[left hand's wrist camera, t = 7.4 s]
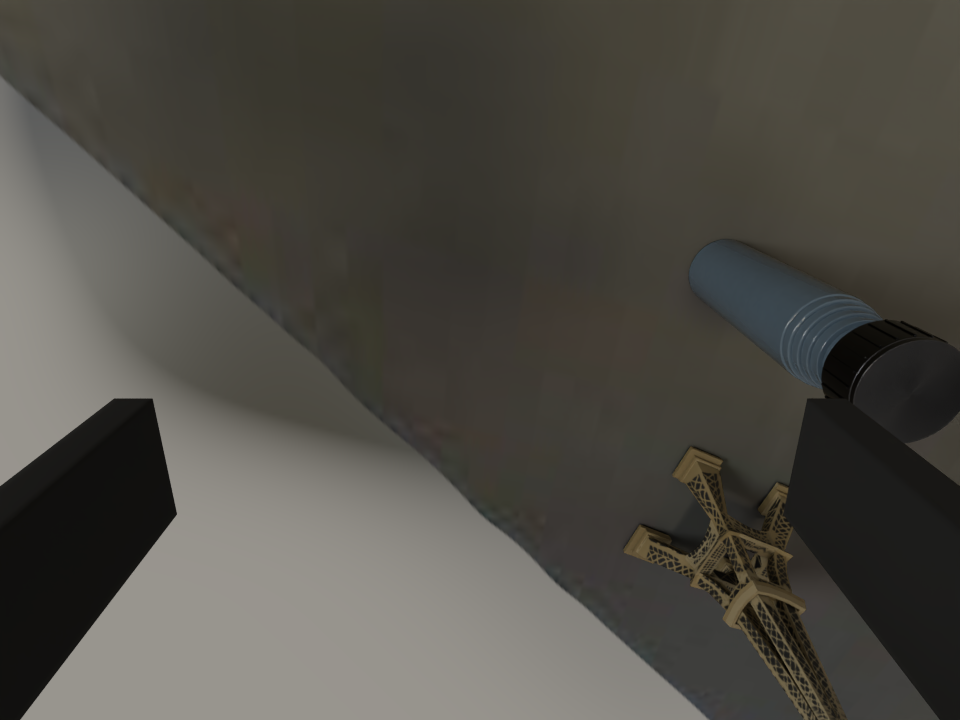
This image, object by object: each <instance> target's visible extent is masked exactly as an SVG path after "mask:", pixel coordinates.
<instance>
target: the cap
mask: <svg viewBox="0 0 960 720" xmlns="http://www.w3.org/2000/svg"><path fill="white" fill-rule="evenodd" d="M821 382H822V383H821V385H822V388H823V392H824V394H825V398H826V399H847V400H848V401H849V402H851V403H852V404H853V405H855V406H856V407H857V408H859V409H860V410H861V411H862V412H864V413H865V414H866V415H868V416H869V417H870V418H872V419H873V420H874V421H875V422H877V423H878V424H879V425H881V426H882V427H883V428H885V429H886V430H887V431H888V432H890V433H891V434H892V435H894V436H895V437H896V438H898V439H899V440H900V441H902V442H903V443H910V442H914V441H918V440H921V439H924V438H926V437H928V436H930V435H933V434H934V433H936V432H938V431H939V430H941V429H942V428H943V427H945V426H946V425H947V424H948V423H949V422H950V421H952V420H953V418H954V417H955V416H956V415H957V414H958V412H959V411H960V352H959V351H958V350H957V349H956V348H954V347H953V346H951V345H949V344H948V342H946V341H944V340H942V339H940V338H938V337H936V336H934V335H932V334H930V333H928V332H925V331H923V330H921V329H919V328H917V327H914V326H912V325H910V324H908V323H906V322H904V321H901V322H899V321H895V320H887V319H885V320H879V321H873V322H869V323H866V324H864V325H861V326H859V327H857V328H855V329H853V330H851V331H850V332H848V333H847V334H846V335H844V336H843V337H842V338H841V339H840V340H839V341H838V342H837V343H836V344H835V345H834V347H833V348H832V349H831V351H830V352H829V354H828V355H827V358H826V360H825V362H824V365H823V368H822V374H821Z"/></svg>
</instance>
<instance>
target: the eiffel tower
mask: <svg viewBox="0 0 960 720" xmlns="http://www.w3.org/2000/svg"><path fill="white" fill-rule="evenodd" d="M722 462H723V460H722V459H720V458H718V457H716V456H713V455H711V454H708V453H706V452H704V451H701V450H699V449H696V448H694V447H692V446H690V448H689V450H688V451H687V453H686V454H685V456H684V457H683V459H682V460H681V462H680V463H679V465H678V466H677V468H676V470H675V471H674V473H673V474H672V475H673V477H675V478H678V479H679V481H681V482H683V483H685V484H686V485H687V486H688V488H689V489H690V490H691V492H692V493H693V495H694V496H695V497H696V499H697V500H698V502H699V503H700V505H701V506H702V507H703V509H704V510H705V512H706V513H707V514H708V516H709V517H710V519H711V521H710V524H709V527H708V530H707V532H706V534H705V537H704V539H703V541H702V543H701V544H700V545H699V547H698V548H696V549H695V550H694V551H692V552H691V553H690V554H689V553H687V552H685V551H683V550H681V549H679V548H676V547H674V546H672V545H670V543H671V542H672V540H671V538H670V536H668V535H666V534H663V533H661V532H658V531H656V530H653V529H651V528H648V527H645V526H643V525H639V526H638V528H637V530H636V531H635V533H634V534H633V536H632V537H631V539H630V540H629V542H628V543H627V545H626V547H625V548H624V553H627V554H629V555H632V556H635V557H637V558H640V559H643V560H645V561H648V562H650V563H653V564H654V563H657V564H659V565H661V566H663V567H666V568H668V569H670V570H673V571H675V572H678V573H680V574H682V575H685V576H687V577H689V578H691V582H690V586H692V587H695V588H699V589H703V590H705V591H707V592H708V593H709V594H710V595H711V596H712V597H713V598H714V599H715V600H716V601H717V602H718V603H719V604H720V605H721V606H722V607H723V608H724V609H725V610H726V613H725V615H724V617H723V620H724V621H725V622H726V623H727V624H728V625H729V626H730V627H733V628H737V629H742V630H743V632H744V633H745V635H746V636H747V638H748V639H749V640H750V642H751V643H752V645H753V646H754V648H755V649H756V651H757V652H758V653H759V655H760V656H761V658H762V659H763V661H764V662H765V663H766V665H767V666H768V668H769V669H770V671H771V672H772V674H773V675H774V676H775V678H776V679H777V681H778V682H779V684H780V685H781V686H782V688H783V689H784V691H785V692H786V694H787V695H788V697H789V698H790V700H791V701H792V702H793V704H794V705H795V707H796V708H797V710H798V711H799V713H800V714H801V716H802V717H803V718H804V720H847V718H846V716H845V713H844V711H843V709H842V707H841V705H840V703H839V701H838V698H837V696H836V694H835V692H834V690H833V688H832V686H831V684H830V681H829V679H828V677H827V675H826V673H825V671H824V668H823V666H822V664H821V662H820V660H819V657H818V655H817V653H816V651H815V649H814V646H813V644H812V642H811V640H810V638H809V635H808V633H807V631H806V629H805V627H804V624H803V622H802V620H801V618H800V615H801V614H802V613H803V612H804V611H806V606H805V601H804V600H803V599H801V598H799V597H797V596H796V595H794V594H792V590H791V587H790V583H789V579H788V575H787V562H788V561H789V560H790V559H791V558H792V557H793V556H792V555H790V554H789V553H787V552H785V551H784V550H785V548H786V545H787V543H788V540H789V538H790V535H791V533H792V530H793V527H792V525H791V524H790V523H789V521H788V520H787V519H786V518H785V516H784V515H783V512H784V507H785V503H786V498H787V493H788V488H789V487H787V486H785V485H782V484H780V483H778V482H777V483H776V484H775V486H774V487H773V489H772V490H771V491H770V493H769V494H768V495H767V497H766V498H765V500H764V501H763V502H762V504H761V505H760V506H759V508H758V511H759V512H760V514H762V515H764V516H766V517H765V520H764V523H763V527H762V530H761V531H757V530H754V529H751V528H749V527H747V526H745V525H744V524H742V523H740V522H738V521H737V520H735V519H733V518H732V517H731V516H729V515H728V514H727V509H726V503H725V498H724V492H723V487H722V481H721V476H720V472H719V471H720V470H721V467H720V465H721V464H722ZM746 550H748V551H751V552H753V553H755V554H754V556H753V558H752V559H751V560H750V559H749V556H748V554H747V552H746ZM726 552H727V554H728V556H729V558H730V559H727V558H725V557H723V556H724V555H725V553H726Z"/></svg>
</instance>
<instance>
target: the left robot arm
mask: <svg viewBox="0 0 960 720" xmlns="http://www.w3.org/2000/svg"><path fill="white" fill-rule="evenodd" d="M176 515H177V512H176V507H175V503H174V498H173V493H172V488H171V484H170V479H169V474H168V470H167V465H166V460H165V455H164V451H163V446H162V441H161V436H160V432H159V427H158V423H157V418H156V413H155V408H154V403H153V399H113V400H112V401H111V402H109V403H108V404H107V405H105V406H104V407H103V408H101V409H100V410H99V411H98V412H96V413H95V414H94V415H92V416H91V417H90V418H88V419H87V420H86V421H85V422H83V423H82V424H81V425H79V426H78V427H77V428H75V429H74V430H73V431H72V432H70V433H69V434H68V435H66V436H65V437H64V438H62V439H61V440H60V441H58V442H57V443H56V444H55V445H53V446H52V447H51V448H49V449H48V450H47V451H46V452H44V453H43V454H42V455H40V456H39V457H38V458H36V459H35V460H34V461H32V462H31V463H30V464H29V465H27V466H26V467H25V468H23V469H22V470H21V471H20V472H18V473H17V474H16V475H14V476H13V477H12V478H10V479H9V480H8V481H7V482H5V483H4V484H3V485H1V486H0V720H20V719H21V718H22V717H23V715H24V714H25V713H26V711H27V710H28V709H29V707H30V706H31V705H32V704H33V702H34V701H35V700H36V698H37V697H38V696H39V694H40V693H41V692H42V690H43V689H44V688H45V686H46V685H47V684H48V682H49V681H50V680H51V679H52V677H53V676H54V675H55V673H56V672H57V671H58V669H59V668H60V667H61V665H62V664H63V663H64V662H65V660H66V659H67V658H68V656H69V655H70V654H71V652H72V651H73V650H74V649H75V647H76V646H77V645H78V643H79V642H80V641H81V639H82V638H83V637H84V635H85V634H86V633H87V631H88V630H89V629H90V628H91V626H92V625H93V624H94V622H95V621H96V620H97V618H98V617H99V616H100V614H101V613H102V612H103V611H104V609H105V608H106V607H107V605H108V604H109V603H110V601H111V600H112V599H113V597H114V596H115V595H116V593H117V592H118V591H119V590H120V588H121V587H122V586H123V584H124V583H125V582H126V580H127V579H128V578H129V576H130V575H131V574H132V573H133V571H134V570H135V569H136V567H137V566H138V565H139V563H140V562H141V561H142V559H143V558H144V557H145V555H146V554H147V553H148V551H149V550H150V549H151V548H152V546H153V545H154V544H155V542H156V541H157V540H158V538H159V537H160V536H161V535H162V533H163V532H164V531H165V529H166V528H167V527H168V525H169V524H170V523H171V521H172V520H173V519H174V518H175V516H176ZM783 515H784V516H785V518H786V519H787V520H788V521H789V523H790V524H791V525H792V527H793V528H794V529H795V531H796V532H797V533H798V535H799V536H800V537H801V538H802V540H803V541H804V542H805V544H806V545H807V546H808V548H809V549H810V550H811V552H812V553H813V554H814V556H815V557H816V558H817V559H818V561H819V562H820V563H821V565H822V566H823V567H824V569H825V570H826V571H827V573H828V574H829V575H830V576H831V578H832V579H833V580H834V582H835V583H836V584H837V586H838V587H839V588H840V590H841V591H842V592H843V593H844V595H845V596H846V597H847V599H848V600H849V601H850V603H851V604H852V605H853V607H854V608H855V609H856V611H857V612H858V613H859V614H860V616H861V617H862V618H863V620H864V621H865V622H866V624H867V625H868V626H869V628H870V629H871V630H872V631H873V633H874V634H875V635H876V637H877V638H878V639H879V641H880V642H881V643H882V645H883V646H884V647H885V649H886V650H887V651H888V652H889V654H890V655H891V656H892V658H893V659H894V660H895V662H896V663H897V664H898V666H899V667H900V668H901V669H902V671H903V672H904V673H905V675H906V676H907V677H908V679H909V680H910V681H911V683H912V684H913V685H914V686H915V688H916V689H917V690H918V692H919V693H920V694H921V696H922V697H923V698H924V700H925V701H926V702H927V704H928V705H929V706H930V707H931V709H932V710H933V711H934V713H935V714H936V715H937V717H938V718H939V719H940V720H960V486H959V485H957V484H956V483H955V482H954V481H952V480H951V479H950V478H948V477H947V476H946V475H944V474H943V473H942V472H941V471H939V470H938V469H937V468H935V467H934V466H933V465H931V464H930V463H929V462H928V461H926V460H925V459H924V458H922V457H921V456H920V455H918V454H917V453H916V452H915V451H913V450H912V449H911V448H909V447H908V446H907V445H905V444H904V443H903V442H902V441H900V440H899V439H898V438H896V437H895V436H894V435H892V434H891V433H890V432H888V431H887V430H886V429H885V428H883V427H882V426H881V425H879V424H878V423H877V422H875V421H874V420H873V419H872V418H870V417H869V416H868V415H866V414H865V413H864V412H862V411H861V410H860V409H859V408H857V407H856V406H855V405H853V404H852V403H851V402H849V401H848V400H847V399H807V403H806V408H805V413H804V418H803V422H802V427H801V432H800V436H799V441H798V446H797V451H796V455H795V460H794V465H793V470H792V474H791V479H790V484H789V488H788V493H787V498H786V503H785V507H784V512H783Z"/></svg>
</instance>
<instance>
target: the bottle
mask: <svg viewBox="0 0 960 720" xmlns="http://www.w3.org/2000/svg"><path fill="white" fill-rule="evenodd" d="M689 282H690V286H691V288H692V290H693V292H694V293H695V295H696V296H697V297H698V298H699V299H701V300H702V301H703V302H704V303H705V304H707V305H708V306H709V307H710V308H711V309H713V310H714V311H715V312H716V313H718V314H719V315H720V316H721V317H722V318H724V319H725V320H726V321H727V322H728V323H730V324H731V325H732V326H733V327H734V328H736V329H737V330H738V331H739V332H741V333H742V334H743V335H744V336H745V337H747V338H748V339H749V340H750V341H751V342H753V343H754V344H755V345H756V346H757V347H759V348H760V349H761V350H762V351H764V352H765V353H766V354H767V355H768V356H770V357H771V358H772V359H773V360H774V361H776V362H777V363H778V364H779V365H781V366H782V367H783V368H784V369H785V370H787V371H788V372H789V373H790V374H791V375H793V376H794V377H795V378H797V379H799V380H801V381H803V382H804V383H806V384H808V385H811V386H814V387H816V388H819V389H823V388H822V385H821V383H822V382H821V374H822V368H823V365H824V362H825V360H826V358H827V355H828V354H829V352H830V351H831V349H832V348H833V347H834V345H835V344H836V343H837V342H838V341H839V340H840V339H841V338H842V337H843V336H844V335H846V334H847V333H848V332H850V331H851V330H853V329H855V328H857V327H859V326H861V325H864V324H866V323H869V322H873V321H879V320H883V319H882V318H881V317H880V316H879V315H878V314H877V313H876V311H875V310H874V309H873V308H871V307H870V306H869V305H867V304H866V303H864V302H863V301H862V300H860V299H858V298H857V297H855V296H852V295H850V294H848V293H846V292H844V291H842V290H840V289H838V288H836V287H834V286H832V285H829V284H827V283H825V282H823V281H821V280H819V279H817V278H815V277H813V276H811V275H809V274H806V273H804V272H802V271H800V270H798V269H796V268H794V267H792V266H790V265H788V264H786V263H783V262H781V261H779V260H777V259H775V258H773V257H771V256H769V255H767V254H765V253H763V252H760V251H758V250H756V249H754V248H752V247H750V246H748V245H746V244H744V243H742V242H739V241H737V240H732V239H723V240H718V241H715V242H712V243H710V244H708V245H707V246H705V247H704V248H703V249H702V250H701V251H700V252H699V253H698V254H697V255H696V257H695V258H694V260H693V262H692V264H691V267H690V271H689Z"/></svg>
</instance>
